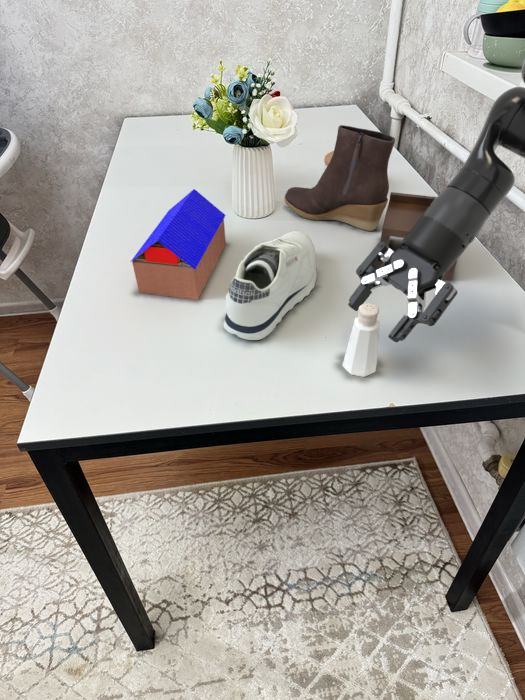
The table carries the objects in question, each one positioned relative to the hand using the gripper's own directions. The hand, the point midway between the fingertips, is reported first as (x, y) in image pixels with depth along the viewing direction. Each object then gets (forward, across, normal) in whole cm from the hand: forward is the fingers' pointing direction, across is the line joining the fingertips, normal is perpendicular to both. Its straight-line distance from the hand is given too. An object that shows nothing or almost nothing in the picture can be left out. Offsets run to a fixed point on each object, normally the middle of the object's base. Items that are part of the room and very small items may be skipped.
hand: (371, 323), depth 71 cm
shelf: (-14, -17, +25) cm, 33 cm away
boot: (-12, -40, +24) cm, 48 cm away
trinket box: (-21, -49, +32) cm, 62 cm away
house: (+14, -40, -2) cm, 42 cm away
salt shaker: (+6, 0, +5) cm, 8 cm away
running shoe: (+7, -22, +5) cm, 23 cm away
